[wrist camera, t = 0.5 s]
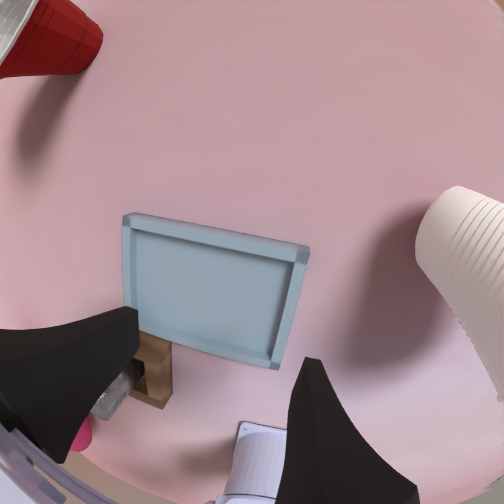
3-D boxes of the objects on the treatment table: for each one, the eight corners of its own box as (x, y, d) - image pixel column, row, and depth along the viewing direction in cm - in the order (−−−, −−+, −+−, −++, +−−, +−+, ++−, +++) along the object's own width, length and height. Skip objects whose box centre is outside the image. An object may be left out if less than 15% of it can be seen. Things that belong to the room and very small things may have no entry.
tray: (280, 358, 22) (278, 370, 20) (134, 316, 24) (125, 324, 22) (309, 246, 19) (309, 253, 17) (133, 212, 21) (122, 215, 19)
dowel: (150, 374, 25) (112, 425, 17) (124, 363, 25) (84, 409, 18) (148, 351, 24) (104, 403, 16) (121, 340, 24) (74, 386, 17)
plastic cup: (93, 105, 19) (-16, 92, 7) (41, 92, 19) (-40, 86, 8) (145, 6, 15) (62, -49, 4) (81, 10, 15) (9, -17, 4)
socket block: (172, 392, 26) (162, 409, 23) (113, 368, 27) (101, 381, 24) (171, 338, 23) (157, 355, 21) (104, 312, 24) (88, 325, 22)
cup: (391, 307, 18) (478, 416, 9) (381, 201, 12) (558, 365, 3) (469, 238, 18) (552, 317, 9) (476, 134, 11) (606, 219, 3)
